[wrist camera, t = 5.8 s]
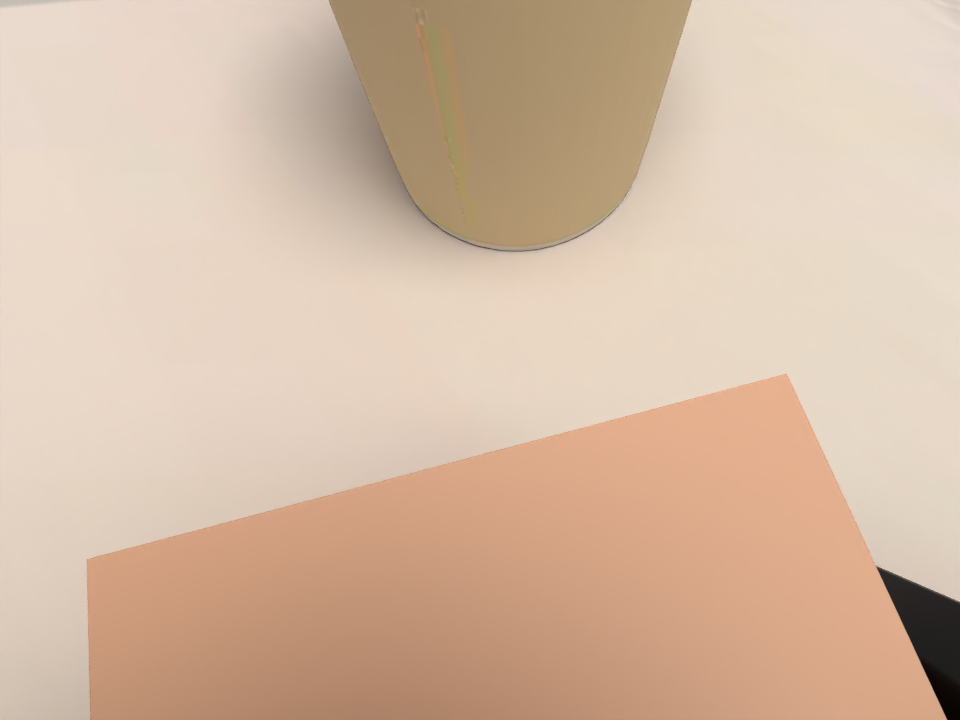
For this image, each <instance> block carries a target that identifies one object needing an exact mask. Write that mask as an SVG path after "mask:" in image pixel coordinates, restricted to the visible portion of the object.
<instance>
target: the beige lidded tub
mask: <svg viewBox="0 0 960 720" xmlns="http://www.w3.org/2000/svg"><path fill="white" fill-rule="evenodd" d="M691 2H692V0H329V3H330V5H331V8H332V10H333V13H334V15H335V18H336V20H337V23H338V25H339V28H340V30H341V33H342V35H343V38H344V40H345V43H346V45H347V48H348V50H349V53H350V55H351V58H352V60H353V63H354V65H355V68H356V70H357V73H358V75H359V78H360V80H361V82H362V85H363V87H364V90H365V92H366V95H367V97H368V100H369V102H370V104H371V107H372V109H373V112H374V114H375V117H376V119H377V122H378V124H379V126H380V129H381V131H382V134H383V136H384V139H385V141H386V144H387V146H388V148H389V151H390V153H391V156H392V158H393V161H394V163H395V165H396V167H397V169H398V172H399V174H400V176H401V178H402V180H403V182H404V185H405V187H406V189H407V191H408V193H409V195H410V196H411V198H412V199H413V201H414V202H415V204H416V205H417V206H418V208H419V209H420V210H421V211H422V212H423V213H424V214H425V215H426V216H427V217H428V218H429V220H431V221H432V222H433V223H435V224H436V225H437V226H439V227H440V228H441V229H442V230H444V231H445V232H447V233H449V234H451V235H452V236H454V237H457V238H458V239H461V240H463V241H466V242H469V243H471V244H474V245H477V246H481V247H486V248H492V249H497V250H508V251H520V250H535V249H540V248H544V247H549V246H554V245H557V244H560V243H563V242H565V241H568V240H571V239H573V238H575V237H577V236H579V235H581V234H583V233H585V232H586V231H588V230H590V229H592V228H593V227H594V226H596V225H597V224H598V223H600V222H601V221H602V220H604V219H605V218H606V217H607V216H608V215H609V214H610V213H611V212H612V211H613V210H614V209H615V208H616V207H617V206H618V204H619V203H620V202H621V201H622V200H623V198H624V197H625V195H626V194H627V192H628V191H629V189H630V187H631V185H632V183H633V181H634V179H635V177H636V174H637V171H638V169H639V166H640V163H641V160H642V157H643V154H644V152H645V149H646V146H647V143H648V140H649V137H650V134H651V130H652V127H653V124H654V121H655V118H656V114H657V111H658V108H659V105H660V102H661V98H662V95H663V92H664V89H665V86H666V82H667V79H668V76H669V73H670V70H671V66H672V63H673V60H674V57H675V54H676V50H677V47H678V44H679V41H680V38H681V34H682V31H683V28H684V25H685V21H686V18H687V15H688V12H689V8H690V5H691Z"/></svg>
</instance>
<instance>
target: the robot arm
mask: <svg viewBox="0 0 960 720" xmlns="http://www.w3.org/2000/svg"><path fill="white" fill-rule="evenodd" d="M876 567H877V566H876ZM877 570H878V572H879V574H880V576H881V578H882V580H883V583H884V585H885V587H886V589H887V591H888V593H889V596H890V598H891V600H892V602H893V604H894V606H895V609H896V611H897V613H898V615H899V617H900V619H901V621H902V624H903V626H904V628H905V630H906V632H907V634H908V637H909V639H910V641H911V643H912V645H913V647H914V650H915V652H916V654H917V656H918V658H919V660H920V663H921V665H922V667H923V669H924V671H925V673H926V676H927V678H928V680H929V682H930V684H931V686H932V688H933V691H934V693H935V695H936V697H937V699H938V701H939V704H940V706H941V708H942V710H943V712H944V714H945V717H946V719H947V720H960V602H959V601H956V600H954V599H952V598H949V597H947V596H945V595H942V594H940V593H938V592H935V591H933V590H931V589H928V588H926V587H924V586H921V585H919V584H917V583H915V582H912V581H910V580H908V579H905V578H903V577H901V576H898V575H896V574H894V573H891V572H889V571H887V570H884V569H882V568H880V567H877Z"/></svg>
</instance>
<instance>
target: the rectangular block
mask: <svg viewBox="0 0 960 720" xmlns="http://www.w3.org/2000/svg"><path fill="white" fill-rule="evenodd" d="M87 592H88V635H89V678H90V720H947V719H946V717H945V714H944V712H943V710H942V708H941V706H940V704H939V701H938V699H937V697H936V695H935V693H934V691H933V688H932V686H931V684H930V682H929V680H928V678H927V676H926V673H925V671H924V669H923V667H922V665H921V663H920V660H919V658H918V656H917V654H916V652H915V650H914V647H913V645H912V643H911V641H910V639H909V637H908V634H907V632H906V630H905V628H904V626H903V624H902V621H901V619H900V617H899V615H898V613H897V611H896V609H895V606H894V604H893V602H892V600H891V598H890V596H889V593H888V591H887V589H886V587H885V585H884V583H883V580H882V578H881V576H880V574H879V572H878V570H877V567H876V565H875V563H874V561H873V559H872V557H871V554H870V552H869V550H868V548H867V546H866V544H865V542H864V539H863V537H862V535H861V533H860V531H859V529H858V526H857V524H856V522H855V520H854V518H853V516H852V513H851V511H850V509H849V507H848V505H847V503H846V500H845V498H844V496H843V494H842V492H841V490H840V487H839V485H838V483H837V481H836V479H835V477H834V475H833V472H832V470H831V468H830V466H829V464H828V462H827V459H826V457H825V455H824V453H823V451H822V449H821V446H820V444H819V442H818V440H817V438H816V436H815V433H814V431H813V429H812V427H811V425H810V423H809V420H808V418H807V416H806V414H805V412H804V410H803V408H802V405H801V403H800V401H799V399H798V397H797V395H796V392H795V390H794V388H793V386H792V384H791V382H790V379H789V377H788V375H787V374H784V375H780V376H776V377H772V378H769V379H765V380H761V381H757V382H754V383H750V384H746V385H742V386H738V387H735V388H731V389H727V390H723V391H720V392H716V393H712V394H708V395H705V396H701V397H697V398H693V399H690V400H686V401H682V402H678V403H674V404H671V405H667V406H663V407H659V408H656V409H652V410H648V411H644V412H641V413H637V414H633V415H629V416H625V417H622V418H618V419H614V420H610V421H607V422H603V423H599V424H595V425H592V426H588V427H584V428H580V429H577V430H573V431H569V432H565V433H561V434H558V435H554V436H550V437H546V438H543V439H539V440H535V441H531V442H528V443H524V444H520V445H516V446H513V447H509V448H505V449H501V450H497V451H494V452H490V453H486V454H482V455H479V456H475V457H471V458H467V459H464V460H460V461H456V462H452V463H448V464H445V465H441V466H437V467H433V468H430V469H426V470H422V471H418V472H415V473H411V474H407V475H403V476H400V477H396V478H392V479H388V480H384V481H381V482H377V483H373V484H369V485H366V486H362V487H358V488H354V489H351V490H347V491H343V492H339V493H336V494H332V495H328V496H324V497H320V498H317V499H313V500H309V501H305V502H302V503H298V504H294V505H290V506H287V507H283V508H279V509H275V510H271V511H268V512H264V513H260V514H256V515H253V516H249V517H245V518H241V519H238V520H234V521H230V522H226V523H223V524H219V525H215V526H211V527H207V528H204V529H200V530H196V531H192V532H189V533H185V534H181V535H177V536H174V537H170V538H166V539H162V540H159V541H155V542H151V543H147V544H143V545H140V546H136V547H132V548H128V549H125V550H121V551H117V552H113V553H110V554H106V555H102V556H98V557H94V558H91V559H87Z"/></svg>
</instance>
